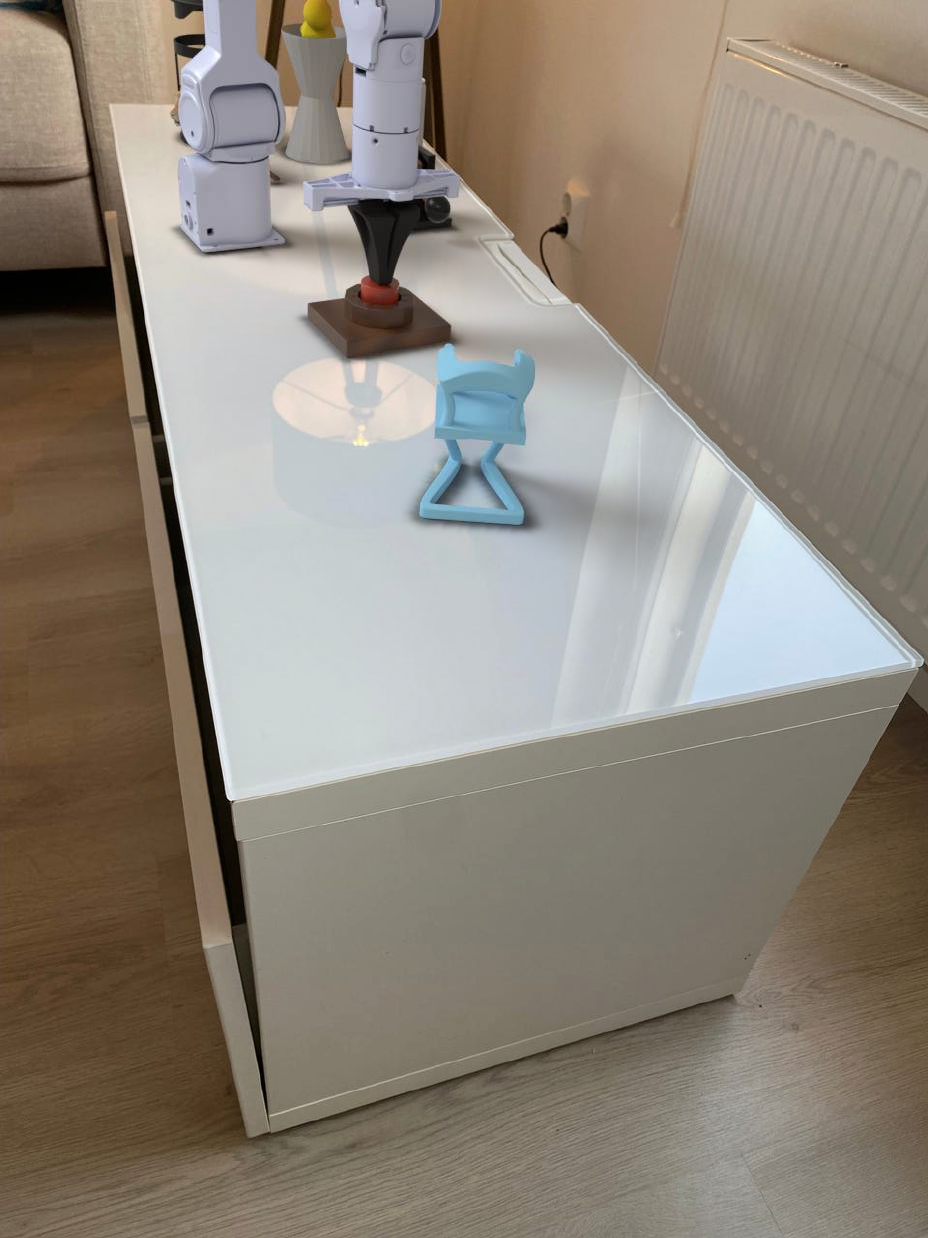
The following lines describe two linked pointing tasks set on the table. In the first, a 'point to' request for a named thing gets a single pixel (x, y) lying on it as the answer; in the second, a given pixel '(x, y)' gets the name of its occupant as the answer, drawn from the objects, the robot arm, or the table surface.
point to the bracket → (424, 222)
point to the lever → (436, 205)
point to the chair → (479, 428)
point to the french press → (186, 37)
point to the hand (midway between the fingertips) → (380, 280)
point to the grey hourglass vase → (316, 84)
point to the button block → (377, 323)
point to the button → (379, 292)
